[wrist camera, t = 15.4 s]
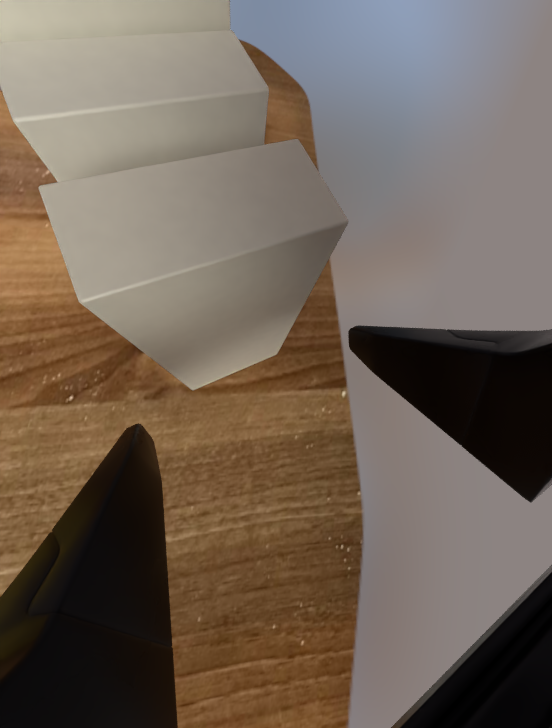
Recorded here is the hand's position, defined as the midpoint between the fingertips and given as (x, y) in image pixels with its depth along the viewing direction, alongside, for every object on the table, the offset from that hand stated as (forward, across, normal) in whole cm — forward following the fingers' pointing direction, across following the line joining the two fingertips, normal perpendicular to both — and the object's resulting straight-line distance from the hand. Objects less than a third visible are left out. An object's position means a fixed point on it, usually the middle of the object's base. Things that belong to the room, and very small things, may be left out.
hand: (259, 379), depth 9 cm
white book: (+8, 0, +3) cm, 8 cm away
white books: (+12, 0, -2) cm, 12 cm away
